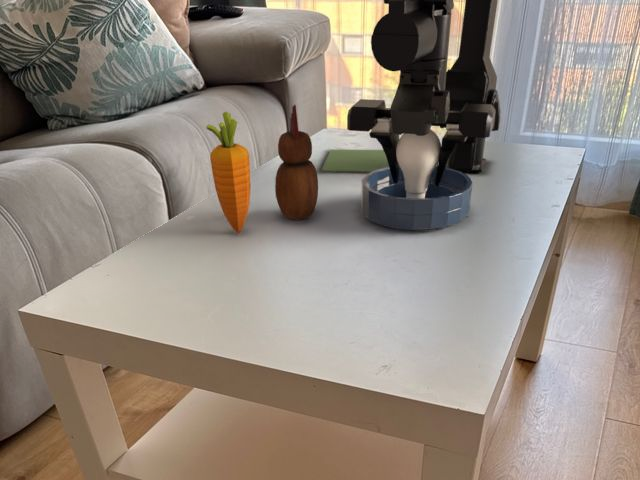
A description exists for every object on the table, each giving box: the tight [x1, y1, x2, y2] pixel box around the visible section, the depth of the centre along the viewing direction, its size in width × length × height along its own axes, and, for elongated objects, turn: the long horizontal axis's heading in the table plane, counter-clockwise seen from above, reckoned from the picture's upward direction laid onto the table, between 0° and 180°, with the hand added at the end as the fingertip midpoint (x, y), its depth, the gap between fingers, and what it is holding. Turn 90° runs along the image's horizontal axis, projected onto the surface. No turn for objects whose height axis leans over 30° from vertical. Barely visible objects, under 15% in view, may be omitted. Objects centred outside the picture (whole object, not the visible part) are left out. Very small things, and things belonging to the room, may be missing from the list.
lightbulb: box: [396, 129, 442, 199], centre depth 87 cm, size 6×6×11 cm
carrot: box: [205, 111, 252, 234], centre depth 83 cm, size 5×5×15 cm
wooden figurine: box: [274, 104, 319, 221], centre depth 87 cm, size 7×6×15 cm
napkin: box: [321, 149, 389, 174], centre depth 111 cm, size 12×12×1 cm
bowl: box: [360, 165, 473, 230], centre depth 90 cm, size 15×15×4 cm
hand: (416, 184), depth 89 cm, fingers closed on lightbulb, 5 cm apart
